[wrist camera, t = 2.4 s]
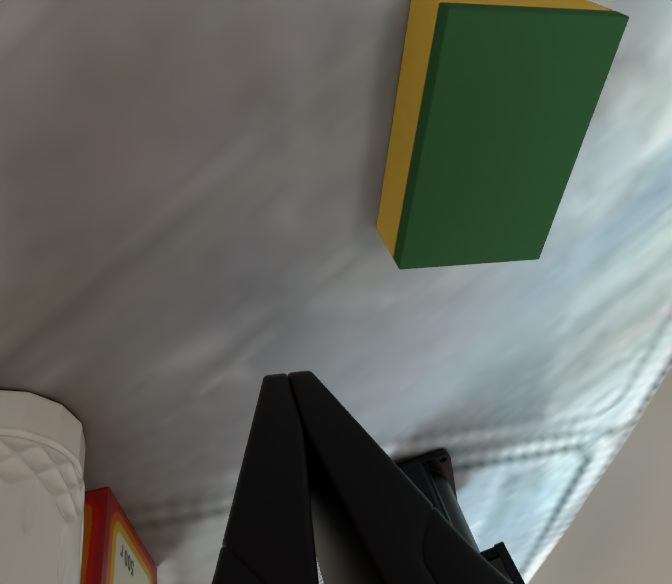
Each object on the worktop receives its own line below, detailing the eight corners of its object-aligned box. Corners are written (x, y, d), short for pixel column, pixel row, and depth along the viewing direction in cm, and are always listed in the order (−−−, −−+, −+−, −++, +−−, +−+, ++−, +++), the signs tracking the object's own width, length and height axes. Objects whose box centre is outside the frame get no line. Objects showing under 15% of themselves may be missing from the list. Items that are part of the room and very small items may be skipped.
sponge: (504, 221, 25) (539, 259, 23) (375, 228, 23) (398, 270, 21) (575, -5, 19) (630, 16, 17) (412, -14, 18) (449, 8, 16)
